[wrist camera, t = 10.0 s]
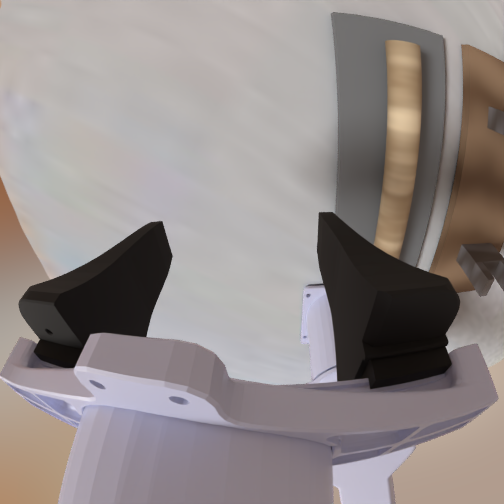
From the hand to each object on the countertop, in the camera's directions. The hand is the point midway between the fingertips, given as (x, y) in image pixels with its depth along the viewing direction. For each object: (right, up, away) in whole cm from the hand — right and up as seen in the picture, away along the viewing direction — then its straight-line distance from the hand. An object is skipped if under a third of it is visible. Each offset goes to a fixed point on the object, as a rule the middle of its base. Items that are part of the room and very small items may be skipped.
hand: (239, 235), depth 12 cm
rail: (+12, +5, +7) cm, 14 cm away
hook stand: (+24, +6, +6) cm, 25 cm away
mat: (+12, +5, +7) cm, 15 cm away
